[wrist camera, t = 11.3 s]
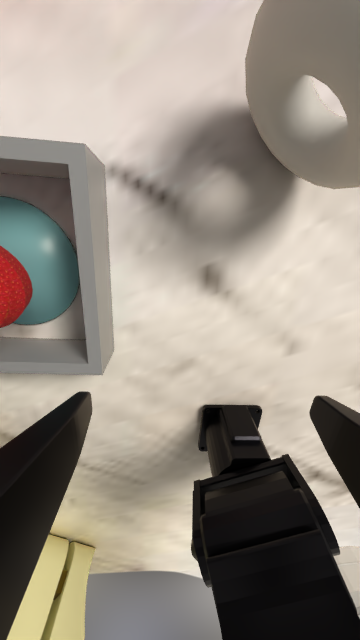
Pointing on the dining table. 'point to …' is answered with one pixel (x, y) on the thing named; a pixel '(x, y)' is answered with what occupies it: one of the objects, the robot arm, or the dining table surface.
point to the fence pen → (59, 259)
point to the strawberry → (13, 288)
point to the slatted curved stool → (55, 594)
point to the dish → (350, 571)
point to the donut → (307, 87)
